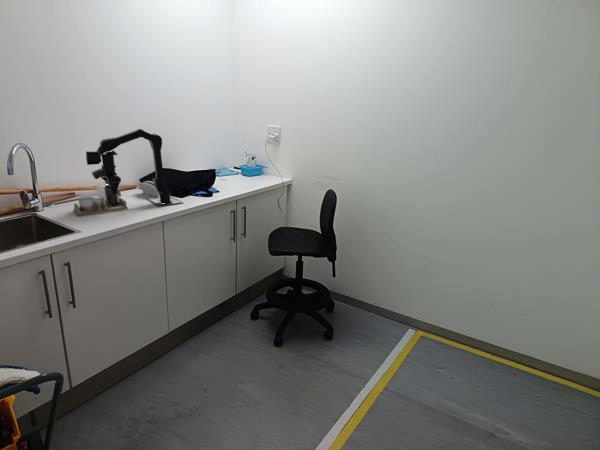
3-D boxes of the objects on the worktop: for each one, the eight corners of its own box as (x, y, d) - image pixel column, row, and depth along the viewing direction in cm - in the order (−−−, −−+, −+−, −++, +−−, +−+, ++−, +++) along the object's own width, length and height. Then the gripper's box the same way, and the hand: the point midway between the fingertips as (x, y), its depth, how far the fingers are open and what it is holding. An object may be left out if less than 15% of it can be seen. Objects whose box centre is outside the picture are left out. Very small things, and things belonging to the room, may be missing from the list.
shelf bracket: (115, 208, 225) (110, 186, 222) (98, 207, 242) (94, 186, 240) (125, 206, 229) (120, 184, 226) (108, 205, 246) (103, 185, 244)
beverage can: (106, 208, 218) (104, 186, 214) (106, 204, 224) (103, 183, 220) (120, 206, 221) (118, 185, 217) (119, 203, 226) (117, 182, 223)
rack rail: (127, 209, 223) (126, 196, 220) (77, 216, 208) (75, 202, 205) (122, 205, 230) (121, 192, 228) (73, 211, 215) (71, 198, 213)
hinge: (166, 196, 252) (160, 182, 246) (160, 200, 249) (154, 186, 243) (150, 191, 261) (144, 178, 255) (144, 195, 258) (138, 181, 252)
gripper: (87, 162, 217) (91, 190, 222) (96, 167, 203) (100, 197, 208) (110, 160, 223) (113, 187, 228) (119, 166, 210) (122, 195, 215)
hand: (111, 192), depth 220 cm, fingers open, 9 cm apart
